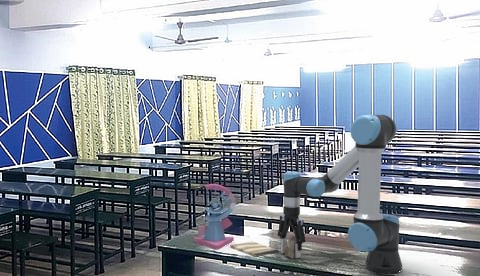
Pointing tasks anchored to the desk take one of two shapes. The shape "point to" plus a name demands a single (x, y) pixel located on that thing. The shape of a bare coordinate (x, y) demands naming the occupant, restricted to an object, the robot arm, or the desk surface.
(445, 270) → the desk surface
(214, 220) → the trophy
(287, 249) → the rock
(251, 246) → the board
